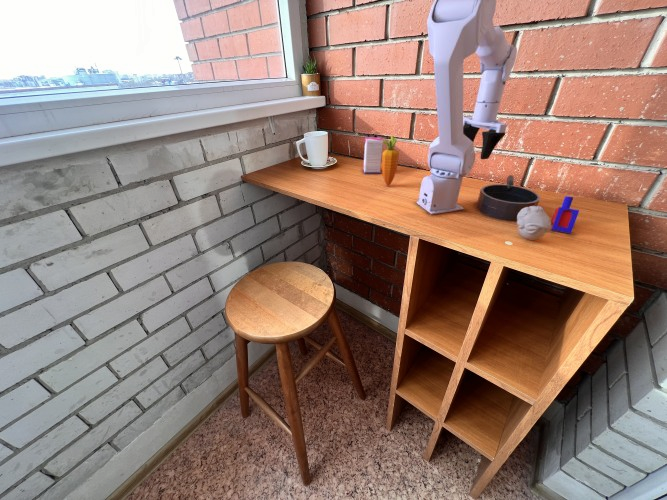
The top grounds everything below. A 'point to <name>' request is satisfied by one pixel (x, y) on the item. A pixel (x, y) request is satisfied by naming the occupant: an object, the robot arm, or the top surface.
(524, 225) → the frog figurine
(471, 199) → the top surface
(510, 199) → the pot
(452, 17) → the robot arm
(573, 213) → the small bottle
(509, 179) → the pot handle
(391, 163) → the carrot
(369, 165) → the supplement box
